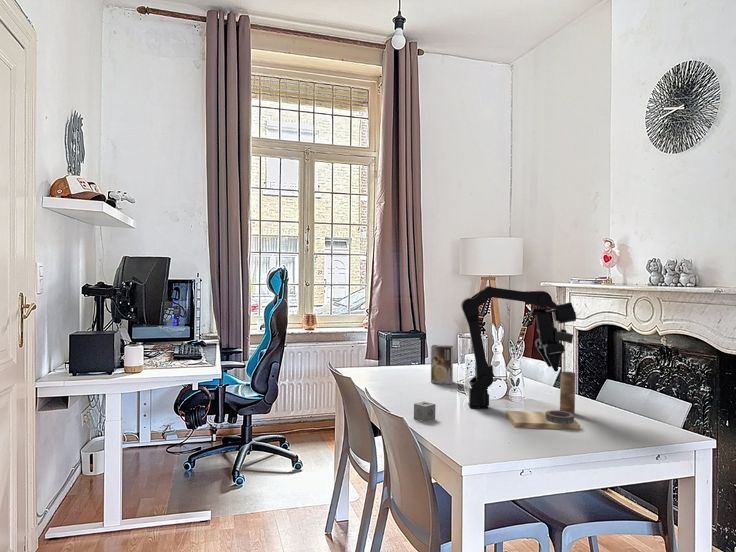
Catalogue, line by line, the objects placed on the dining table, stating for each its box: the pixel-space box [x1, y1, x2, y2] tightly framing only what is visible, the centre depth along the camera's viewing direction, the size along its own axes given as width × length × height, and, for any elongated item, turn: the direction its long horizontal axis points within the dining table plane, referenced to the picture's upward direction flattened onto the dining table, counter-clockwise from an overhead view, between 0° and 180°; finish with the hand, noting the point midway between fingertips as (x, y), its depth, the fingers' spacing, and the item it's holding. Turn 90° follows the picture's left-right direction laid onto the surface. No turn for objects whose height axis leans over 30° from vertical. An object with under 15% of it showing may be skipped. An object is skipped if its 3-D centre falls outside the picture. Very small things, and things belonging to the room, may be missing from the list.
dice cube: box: [413, 401, 436, 423], centre depth 173 cm, size 5×5×5 cm
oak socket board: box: [505, 409, 581, 430], centre depth 171 cm, size 20×14×4 cm
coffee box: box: [430, 344, 454, 385], centre depth 231 cm, size 9×6×16 cm
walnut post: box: [559, 371, 576, 416], centre depth 183 cm, size 5×5×14 cm
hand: (553, 368), depth 187 cm, fingers open, 9 cm apart
